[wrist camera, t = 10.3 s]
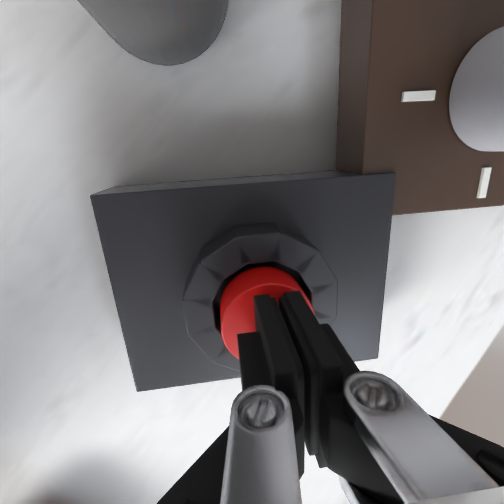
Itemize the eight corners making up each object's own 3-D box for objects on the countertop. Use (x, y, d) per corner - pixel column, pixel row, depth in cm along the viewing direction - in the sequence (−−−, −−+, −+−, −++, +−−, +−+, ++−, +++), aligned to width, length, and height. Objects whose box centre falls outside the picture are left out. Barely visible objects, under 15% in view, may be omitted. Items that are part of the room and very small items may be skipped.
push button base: (149, 352, 18) (126, 423, 13) (114, 186, 15) (68, 202, 10) (352, 326, 19) (397, 382, 15) (362, 168, 16) (423, 175, 11)
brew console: (334, 207, 17) (361, 219, 14) (341, -14, 13) (378, -62, 10) (526, 190, 18) (590, 198, 15) (577, -16, 14) (671, -60, 11)
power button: (223, 345, 13) (225, 372, 11) (215, 270, 12) (216, 289, 10) (302, 334, 13) (315, 360, 12) (302, 261, 12) (316, 278, 11)
